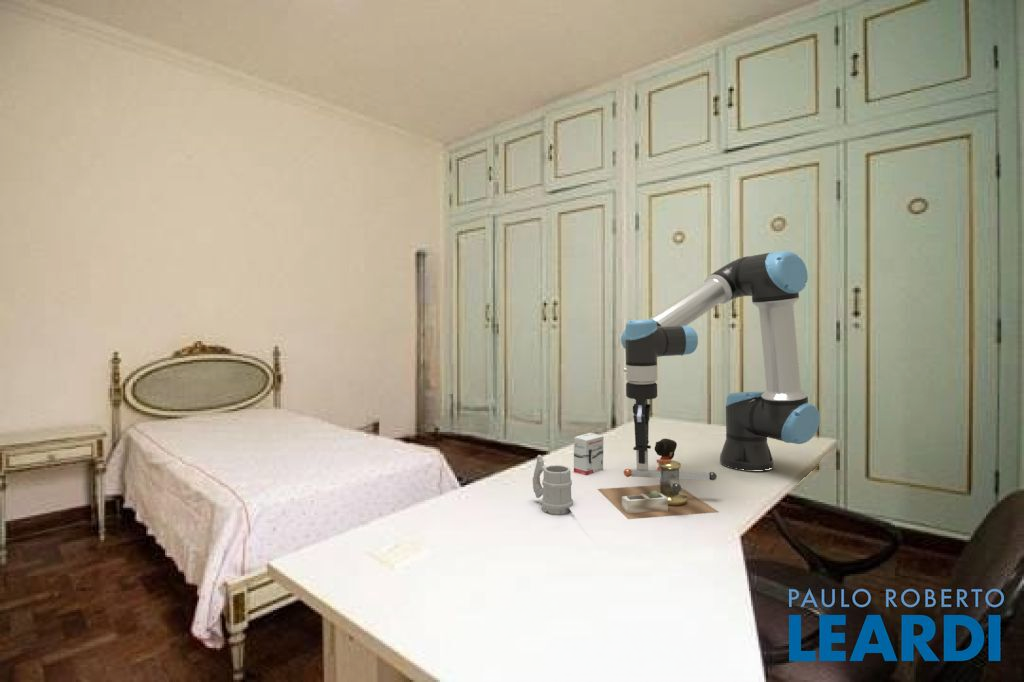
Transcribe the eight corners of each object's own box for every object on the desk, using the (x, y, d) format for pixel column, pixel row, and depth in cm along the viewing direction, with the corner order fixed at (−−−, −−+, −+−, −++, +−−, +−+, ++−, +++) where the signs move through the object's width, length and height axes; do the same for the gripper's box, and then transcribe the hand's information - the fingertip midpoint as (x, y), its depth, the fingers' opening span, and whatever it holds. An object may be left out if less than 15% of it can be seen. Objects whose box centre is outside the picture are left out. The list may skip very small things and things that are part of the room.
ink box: (586, 480, 138) (586, 439, 138) (573, 477, 142) (572, 436, 142) (604, 474, 144) (604, 434, 144) (590, 470, 148) (590, 432, 147)
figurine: (672, 486, 133) (672, 442, 133) (652, 482, 137) (652, 439, 136) (680, 480, 138) (680, 438, 138) (660, 476, 142) (660, 435, 141)
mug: (558, 518, 112) (558, 466, 111) (522, 504, 120) (522, 456, 120) (579, 509, 117) (579, 460, 116) (544, 497, 126) (543, 451, 125)
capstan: (620, 481, 132) (620, 447, 132) (705, 484, 128) (705, 450, 128) (626, 511, 110) (626, 471, 110) (729, 517, 107) (729, 476, 107)
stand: (675, 489, 130) (675, 468, 130) (719, 518, 111) (719, 493, 111) (597, 494, 127) (597, 472, 127) (628, 525, 107) (628, 499, 107)
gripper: (629, 377, 128) (630, 465, 129) (622, 385, 116) (623, 482, 117) (659, 378, 125) (659, 468, 126) (655, 386, 113) (655, 485, 114)
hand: (642, 474), depth 122 cm, fingers closed
